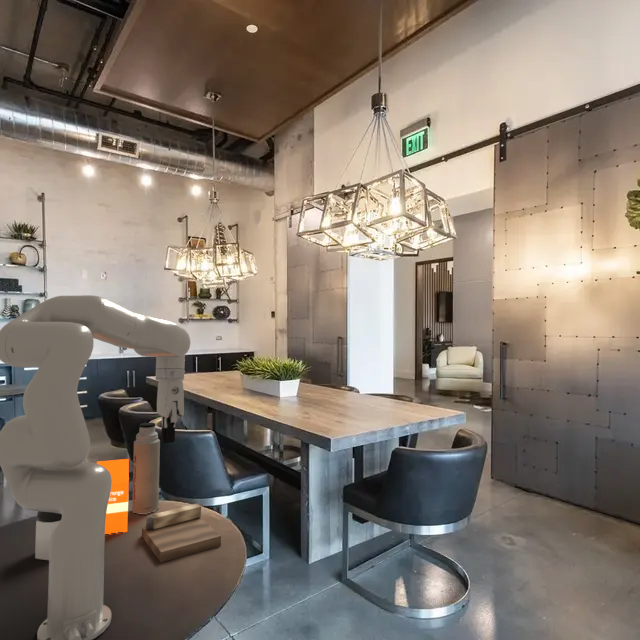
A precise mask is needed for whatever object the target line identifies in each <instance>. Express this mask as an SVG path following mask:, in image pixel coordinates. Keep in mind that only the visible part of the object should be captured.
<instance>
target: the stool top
mask: <svg viewBox="0 0 640 640" xmlns="http://www.w3.org/2000/svg"><path fill="white" fill-rule="evenodd" d="M221 536H222V535H221V534H220V533H219V532H218V531H216V530H215V529H214V528H213V527H212V526H211V525H210V524H208V522H206V521H205V520H204V519H202V517H198V518H194V519H191V520H187V521H183V522H179V523H175V524H172V525H168V526H164V527H160V528H156V529H152V530H148V529H146V525H145V526H141V537H142V538H143V539H144V541H145V542H146V544H147V546H148V547H149V548H150V549H151V551H152V552H153V554H154V555H155V556H156V558H157V559H158V560H159V562H160V563H164V562H167V561H170V560H174V559H177V558H181V557H184V556H189V555H191V554H195V553H198V552H202V551H205V550H208V549H212V548H216V547H220V546H221V544H222V537H221Z"/></svg>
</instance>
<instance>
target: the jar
mask: <svg viewBox="0 0 640 640" xmlns="http://www.w3.org/2000/svg"><path fill="white" fill-rule="evenodd" d="M36 516H37V520H36V521H35V523H36V524H35V550H34V551H35V552H34V555H35V556H34V558H35V559H36V560H45V561H49V544H50V538H51V535H52V533H53V531H54V529H55V528H56V527H57V525H58V524H59V522H60V521H61V519H62V514H60V513H54V512H42V511H37V515H36Z"/></svg>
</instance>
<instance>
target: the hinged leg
mask: <svg viewBox="0 0 640 640" xmlns="http://www.w3.org/2000/svg"><path fill="white" fill-rule="evenodd" d="M201 516H202V506H201V505H200V504H198V503H194V504H189V505H186V506H181V507H177V508H174V509H170V510H165V511H162V512H161V511H160V512H157V513H156V512H155V513H151V514H147V516H146V518H145V519H146V520H145V521H146V522H145V526H146V529H148V530H152V529H156V528H160V527H164V526H168V525H172V524H175V523H179V522H183V521H187V520H191V519H194V518H198V517H200V518H202V517H201Z"/></svg>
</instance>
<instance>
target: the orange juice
mask: <svg viewBox="0 0 640 640" xmlns="http://www.w3.org/2000/svg"><path fill="white" fill-rule="evenodd" d="M129 460H130V459H129V458H125V459H124V458H122V459H112V460H99V461H96V464H99V465H102V466H103V467H105V468H106V469H107V470H108V471H109V472H110V474H111V477H112V487H111V492H110V497H109V501H108V506H107V512H106V521H105V534H109V535H112V534H111V533H116V534H119V533H118V532H123V533H127V532H128V524H129V523H128V520H129V519H128V515H129V483H130V482H129V481H130V477H129V463H130V461H129Z"/></svg>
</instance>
